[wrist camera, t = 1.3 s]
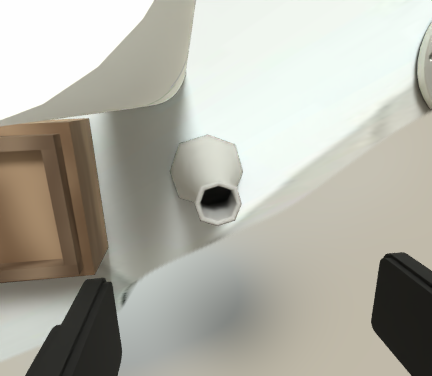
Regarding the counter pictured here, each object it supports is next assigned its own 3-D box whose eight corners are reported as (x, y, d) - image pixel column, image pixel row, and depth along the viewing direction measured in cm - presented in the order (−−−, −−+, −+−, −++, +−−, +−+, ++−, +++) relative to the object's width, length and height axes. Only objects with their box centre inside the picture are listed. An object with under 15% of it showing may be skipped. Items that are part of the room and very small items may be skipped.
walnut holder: (88, 118, 27) (62, 123, 21) (108, 247, 30) (90, 282, 24) (-68, 124, 25) (-143, 131, 20) (-27, 258, 29) (-80, 298, 23)
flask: (169, 133, 28) (163, 149, 18) (244, 134, 29) (275, 151, 19) (170, 205, 30) (164, 253, 20) (240, 204, 31) (266, 251, 21)
